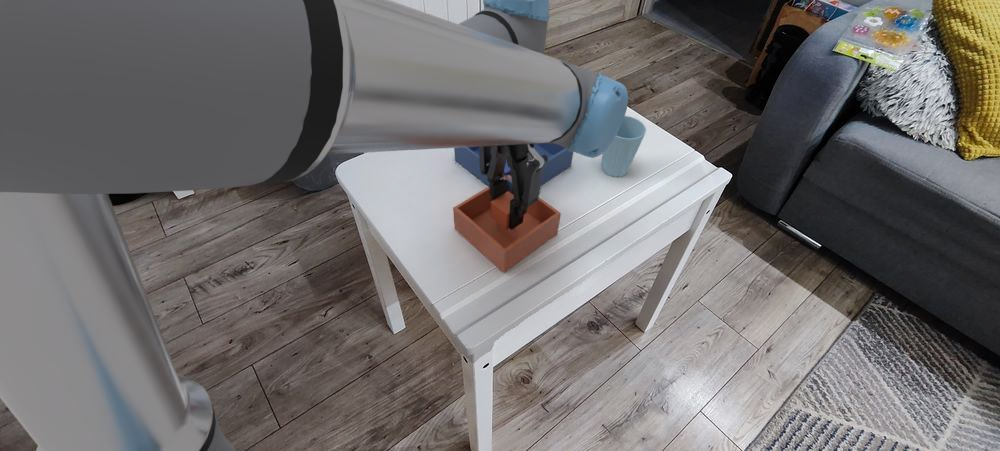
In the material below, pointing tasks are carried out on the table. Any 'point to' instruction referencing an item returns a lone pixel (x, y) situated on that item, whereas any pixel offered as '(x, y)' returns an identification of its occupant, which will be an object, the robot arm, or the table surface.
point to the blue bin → (556, 164)
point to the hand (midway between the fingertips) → (506, 217)
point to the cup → (623, 147)
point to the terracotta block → (502, 209)
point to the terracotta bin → (497, 241)
